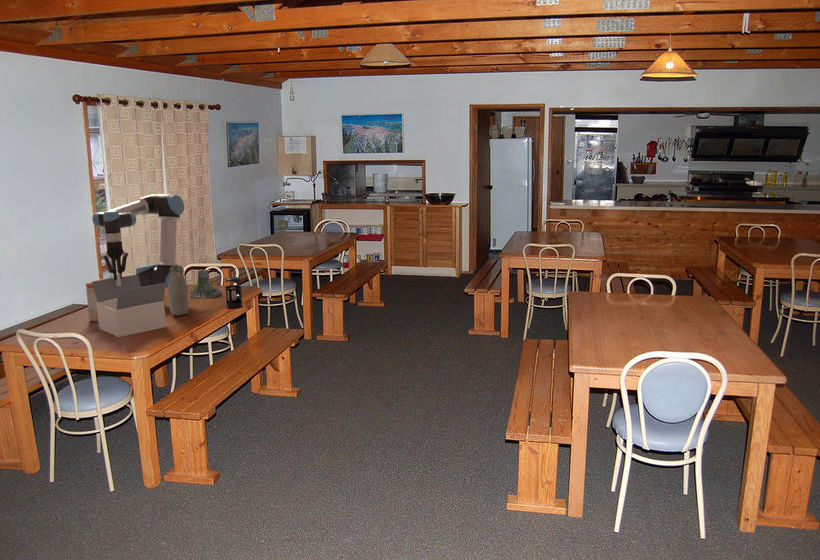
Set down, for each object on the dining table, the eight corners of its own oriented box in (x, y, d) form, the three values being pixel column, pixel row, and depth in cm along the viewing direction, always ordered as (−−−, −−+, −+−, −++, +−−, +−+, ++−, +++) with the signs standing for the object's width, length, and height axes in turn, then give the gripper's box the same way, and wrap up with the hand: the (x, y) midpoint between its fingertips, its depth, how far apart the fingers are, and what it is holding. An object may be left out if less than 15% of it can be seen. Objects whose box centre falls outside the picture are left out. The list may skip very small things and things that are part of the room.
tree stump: (192, 300, 417) (187, 271, 417) (190, 301, 435) (186, 273, 436) (223, 296, 423) (218, 267, 423) (220, 297, 442) (216, 269, 442)
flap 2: (165, 282, 350) (165, 283, 349) (162, 300, 355) (163, 301, 354) (118, 290, 333) (118, 291, 332) (116, 309, 338) (116, 309, 337)
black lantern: (238, 309, 392) (235, 270, 387) (222, 309, 393) (220, 269, 389) (246, 304, 403) (244, 266, 398) (231, 304, 405) (229, 265, 400)
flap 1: (92, 281, 354) (92, 281, 354) (97, 301, 353) (97, 302, 354) (137, 274, 371) (137, 274, 371) (142, 293, 370) (142, 294, 370)
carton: (145, 319, 373) (143, 294, 371) (166, 326, 358) (163, 301, 355) (99, 328, 356) (96, 303, 353) (118, 337, 340) (115, 310, 337)
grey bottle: (169, 318, 375) (164, 267, 369) (172, 313, 385) (168, 264, 379) (187, 317, 376) (183, 267, 371) (190, 312, 386) (186, 263, 380)
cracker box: (98, 322, 369) (94, 283, 364) (88, 321, 370) (84, 283, 366) (115, 315, 382) (111, 278, 378) (105, 314, 383) (101, 278, 379)
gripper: (104, 243, 349) (109, 288, 354) (129, 240, 358) (133, 284, 363) (98, 241, 354) (103, 286, 359) (123, 239, 363) (127, 282, 368)
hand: (118, 285), depth 361 cm, fingers closed
